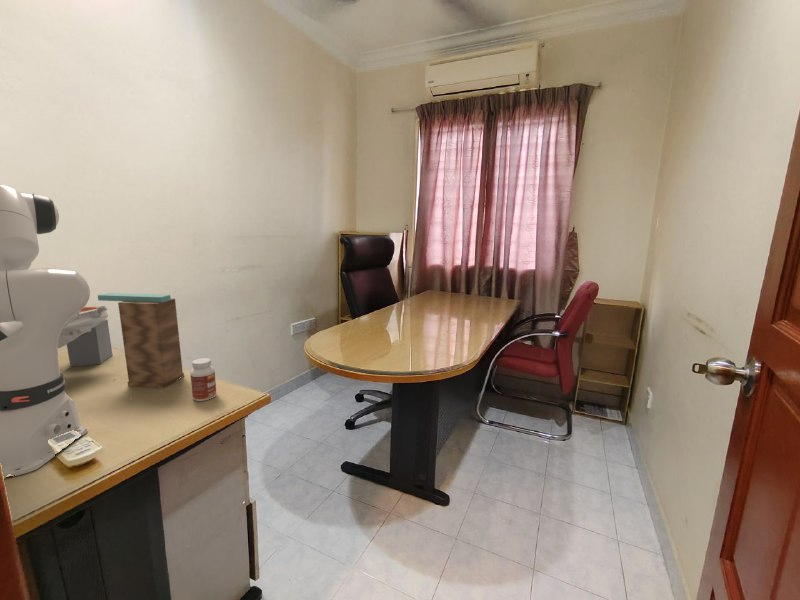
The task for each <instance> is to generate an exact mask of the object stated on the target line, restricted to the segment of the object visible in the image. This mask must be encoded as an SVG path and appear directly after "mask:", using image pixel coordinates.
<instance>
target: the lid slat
mask: <svg viewBox="0 0 800 600" xmlns="http://www.w3.org/2000/svg"><path fill="white" fill-rule="evenodd" d="M97 299H98V300H97V301H103V302H107V301H108V302H123V301H130V302H161V303H162V302H165V301H169V300H171V299H172V298H171V294H158V293H157V294H154V293H127V292H126V293H122V292H121V293H120V292H115V293H114V292H107V293H101V294H98V295H97Z"/></svg>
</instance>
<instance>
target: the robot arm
mask: <svg viewBox="0 0 800 600" xmlns="http://www.w3.org/2000/svg"><path fill="white" fill-rule="evenodd" d="M59 221H60V213H59V210H58V208H57V206H56V205H55V204H54V201H53V200H52V199H51V198H49V197H48V196H45V195H42V194H38V193H32V194H30V193H24V192H19V191H18V190H17V189H14V188H13V187H11V186H7V185H4V184H0V463H1V465H2V472H3V476H4V479H7V478H6V476H7V475H8V474H11V475H15V476H14V477H17V476H20V475H24V474H27V473H31V472H33V471H36V470H38V469H40V468H41V467H42V466H44V465H45V464H46V463H48V462H49V461H50V460H52V459H53V458H54V457H56V456H55V452H54V450H53V449H52V447H51V446H50V445H49V444H48V440H49V439H52V438H54V437H56V436H59V435H61V434H64V433H66V432H69V431H72V430H74V431H77V432H79V434H81V435H83V436H85V435H86V434H87V433H88V427H86V426H84V425H81V424H82V423H81V420H80V418H79V414H78V411H77V407H76V404H75V401H74V400H73V399H72V398H71V397H70V396H69V395H68V394H67V393H66V391H65V390H66V389H67V388H66V379H65V378H64V374H63V373H62V372H61V369H60V368H61V367H60V363H59V349H61V348H62V347H65V346H67V344H68V343H70V342H71V341H73V340H75V339H76V338H78V337H80V336H82V335H85V334H87V333H89V332H90V331H91V328H93V327H95V326H97V325H98V324H100V323H101V322H102V321H104V320H106V319H108V317H109V314H108V312H107V311H108V308H107V306H106V305H101V306H98V307H99V308H97V309H94V310H90V311H85V312H81V313H79V311H81V310H82V309H83V308H84V307H86V305H87V304H88V302H89V299H90V296H91V290H90V286H89V283H88V281H87V280H86V279H85V278H84V276H82V275H81V274H80V273H79V272H77V271H76V270H70V269H61V268H60V269H59V268H47V267H46V268H30V267H31V266H32V263H33V261H35V259H37V257H38V255H39V253H40V247H39V243H38V242H39V241H38V236H37V235H43V234H49V233H52V232H54V230H56V228H57V226H58V224H59Z"/></svg>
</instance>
